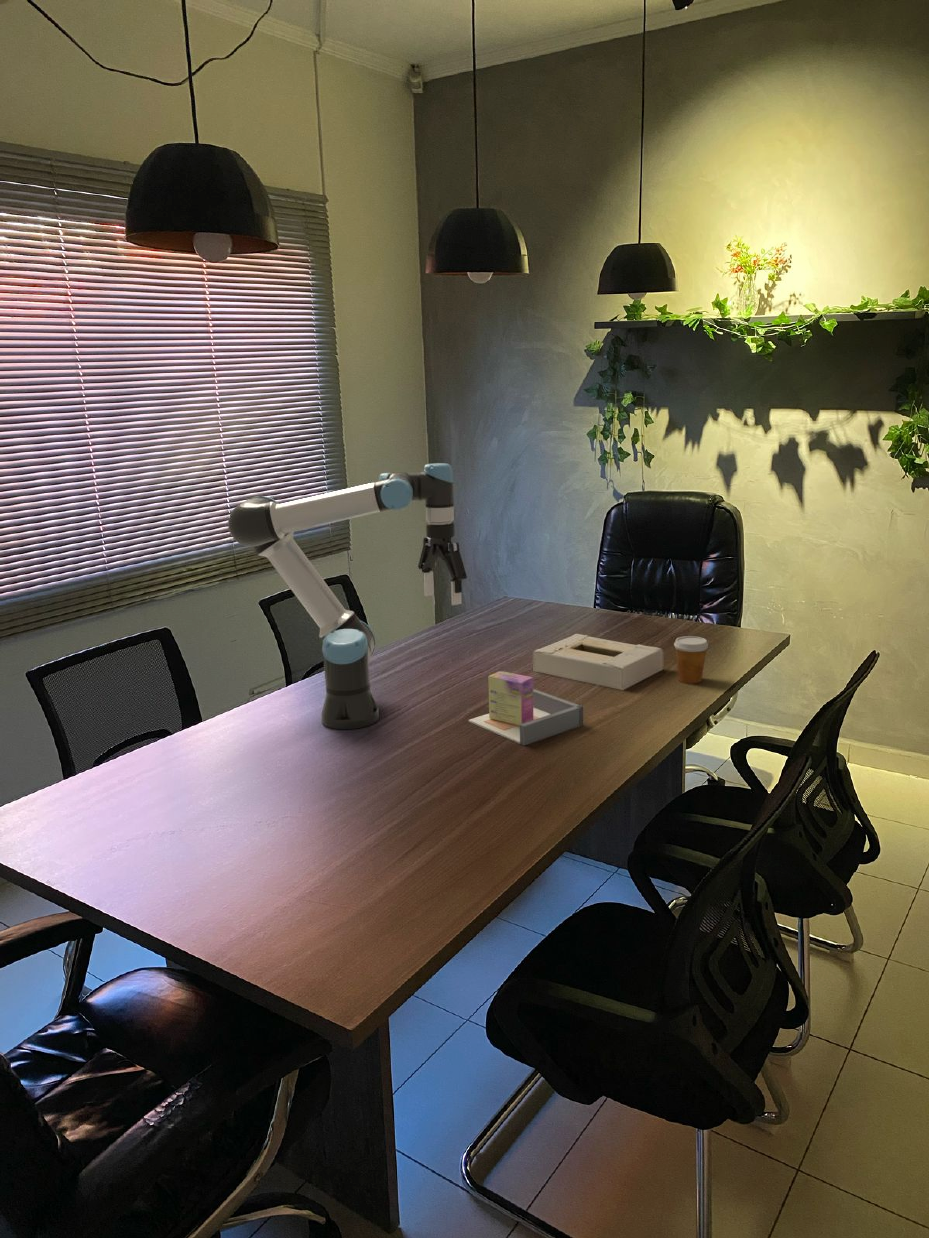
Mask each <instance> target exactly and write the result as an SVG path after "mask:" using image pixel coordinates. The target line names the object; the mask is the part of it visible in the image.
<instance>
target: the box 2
mask: <svg viewBox="0 0 929 1238" xmlns="http://www.w3.org/2000/svg"><path fill="white" fill-rule="evenodd" d="M532 669H533V670H532V671H533V672H536V673H541V674H546V675H551V676H555V677H560V678H564V679H569V680H574V681H577V682H578V681H579V682H583V683H588V684H593V685H597V686H602V687H607V688H612V689H616V690H620V691H624V690H626V689H628V688H630V687H633V686H634V685H635V684H637V683H640V682H641V681H643V680H645V679H648V678H649V677H651V676H653V675H655V674H657V673H659V672H661V671H663V669H664V650H663V649H662V648H660V647H656V646H649V645H644V644H631V643H626V642H620V641H615V640H609V639H604V638H599V637H593V636H590V635H586V634H580V633H575V634H573V635H571V636H568V637H566V638H564V639H561V640H558V641H556V642H553V643H552V644H549V645H546V646H543V647H541V648H537V649H536V650H534V651H532Z"/></svg>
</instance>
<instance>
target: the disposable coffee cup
mask: <svg viewBox="0 0 929 1238" xmlns="http://www.w3.org/2000/svg"><path fill="white" fill-rule="evenodd" d="M673 645H674V648H675V655H676V663H677V674H678V681H680V682H681V683H682V684H683V683H684V684H699V683H702V679H703V674H704V668H705V667H704V666H705V660H706V654H707V649H708V647H709V643H708V641H707V639H706V638H704V637H701V636H693V635H692V636H691V635H688V636H687V635H686V636H685V635H684V636H680V637H679V636H678V637H677V638H676V639H675V641H674V642H673Z"/></svg>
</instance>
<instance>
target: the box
mask: <svg viewBox="0 0 929 1238" xmlns="http://www.w3.org/2000/svg"><path fill="white" fill-rule="evenodd" d="M487 679H488V684H487V685H488V712H489V713H488V714H489V718H490V719H494V720H499V721H503V722H507V723H511V724H515V725H519V726H520V724H523V723H526V722H529V721H532V720H533V689H534V677H532V676H528V675H522V674H517V673H512V672H508V671H504V670H499V671H496V672H495V673H492V674H489V675H488V677H487Z"/></svg>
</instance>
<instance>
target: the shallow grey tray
mask: <svg viewBox="0 0 929 1238" xmlns="http://www.w3.org/2000/svg"><path fill="white" fill-rule="evenodd" d="M547 715H550V713H547V712H544V711H542V710H539V709H537V708H534V707H533V720H535V719H538V718H541V717H544V716H547ZM468 723H470V724H473V725H476V726H477V727H480V728H483V729H485V730H487V731H489V732H490V733H491V732H492V733H494V734H497V735H498V736H501V737H502V738H503V737H504V738H505V739H508V740H511V741H513V742H515V743H517V744H519V745H522V743H520V726H519V725H515V724H511V723H507V722H503V721H499V720H494V719H490V718H489V713H486V714H482V715H480V716H477V717H474V718H471V719H470V718H469V719H468ZM577 726H578V725H576V727H575V728H574V729H576V728H578V727H577ZM570 730H573V729H572V727H571V728H570ZM570 730H569V728H568V730H567V731H570ZM562 731H563V730H562ZM560 732H561V731H560ZM554 734H555V733H554ZM549 736H550V735H549ZM549 736H548V737H546V738H545V739H547V738H550V737H553V736H554V735H552V736H550V737H549ZM543 738H544V737H543ZM533 743H534V742H532V743H527V744H526V745H525V744H523V745H522V746H524V745H525V746H527V745H530V744H533Z"/></svg>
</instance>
